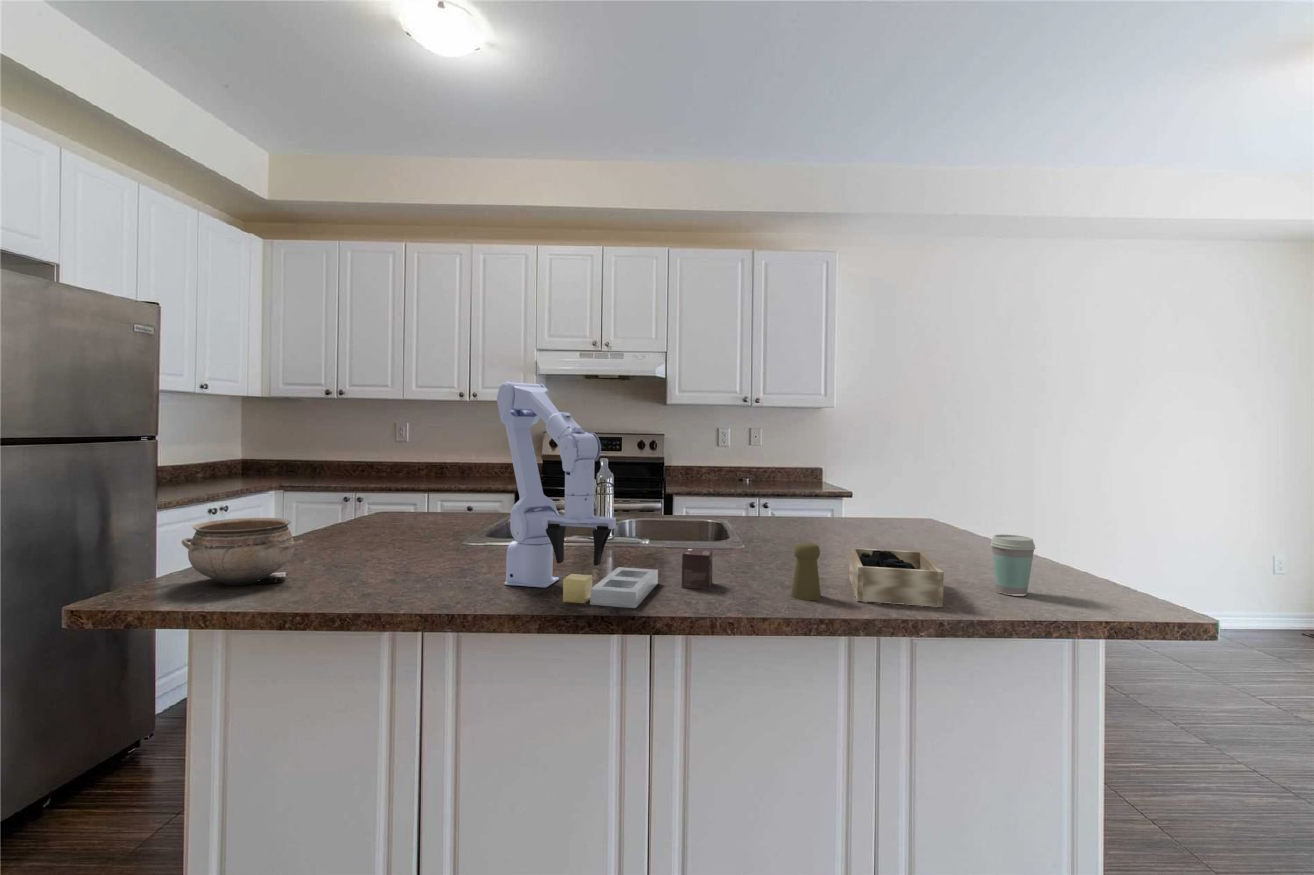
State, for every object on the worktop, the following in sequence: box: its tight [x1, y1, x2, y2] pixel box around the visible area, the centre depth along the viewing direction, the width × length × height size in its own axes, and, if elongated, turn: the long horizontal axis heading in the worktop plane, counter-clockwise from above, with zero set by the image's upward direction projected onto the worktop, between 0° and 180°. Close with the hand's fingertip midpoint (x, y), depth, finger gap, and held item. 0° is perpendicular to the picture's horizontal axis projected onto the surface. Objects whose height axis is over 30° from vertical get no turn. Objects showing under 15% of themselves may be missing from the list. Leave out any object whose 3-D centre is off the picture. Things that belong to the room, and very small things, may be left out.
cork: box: [790, 541, 822, 601], centre depth 136 cm, size 6×6×11 cm
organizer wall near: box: [862, 566, 938, 606], centre depth 131 cm, size 14×1×7 cm, turn 78°
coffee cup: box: [990, 534, 1037, 594], centre depth 141 cm, size 8×8×12 cm
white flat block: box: [589, 566, 659, 609], centre depth 135 cm, size 9×20×3 cm, turn 168°
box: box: [681, 548, 713, 590], centre depth 143 cm, size 6×6×7 cm
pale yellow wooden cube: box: [562, 573, 593, 604], centre depth 130 cm, size 4×4×4 cm
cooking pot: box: [181, 517, 304, 586], centre depth 139 cm, size 25×19×12 cm
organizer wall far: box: [854, 547, 921, 570], centre depth 150 cm, size 14×1×7 cm, turn 78°
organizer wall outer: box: [919, 551, 945, 607], centre depth 139 cm, size 1×21×7 cm, turn 168°
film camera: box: [859, 549, 915, 569], centre depth 140 cm, size 15×10×9 cm, turn 22°
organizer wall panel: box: [848, 547, 863, 602], centre depth 142 cm, size 1×21×7 cm, turn 168°
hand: (578, 563), depth 130 cm, fingers open, 7 cm apart
